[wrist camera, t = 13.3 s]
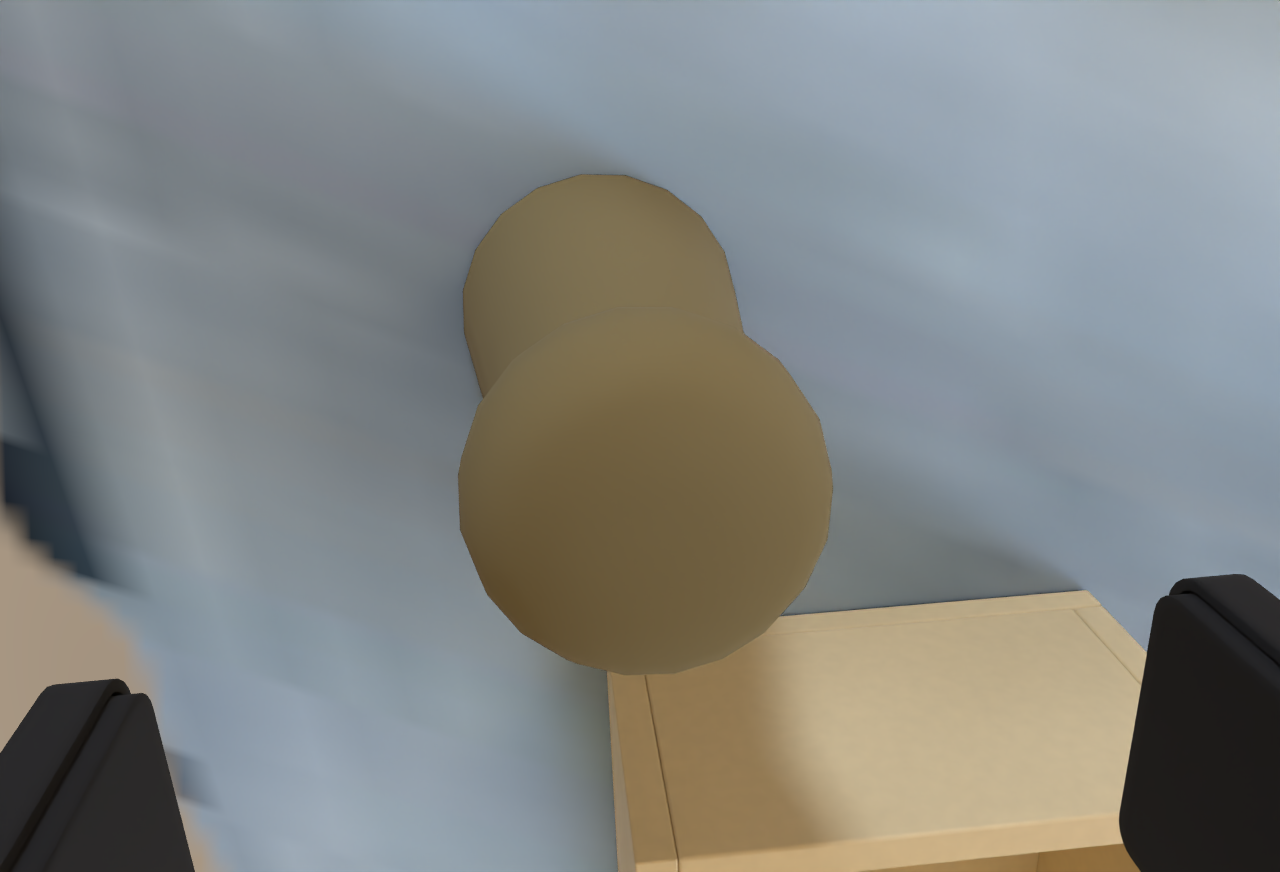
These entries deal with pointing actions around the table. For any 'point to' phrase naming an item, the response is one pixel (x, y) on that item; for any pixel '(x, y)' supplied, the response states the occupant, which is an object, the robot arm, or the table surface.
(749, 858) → the chest
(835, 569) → the table surface
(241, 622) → the table surface
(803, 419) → the cork
